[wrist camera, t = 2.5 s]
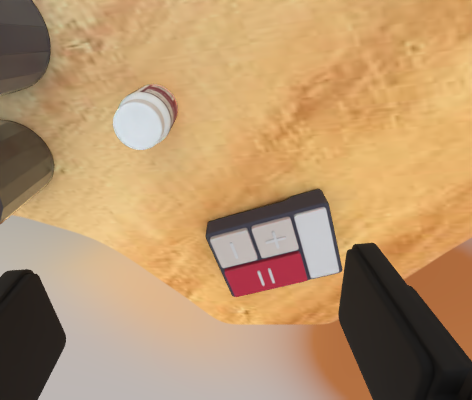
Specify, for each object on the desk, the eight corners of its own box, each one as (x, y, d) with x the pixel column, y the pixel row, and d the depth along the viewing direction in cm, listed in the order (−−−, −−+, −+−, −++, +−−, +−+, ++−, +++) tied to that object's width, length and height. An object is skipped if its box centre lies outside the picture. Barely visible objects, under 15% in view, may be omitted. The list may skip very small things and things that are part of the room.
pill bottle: (143, 133, 34) (121, 160, 27) (126, 89, 32) (97, 105, 24) (184, 123, 34) (174, 147, 26) (170, 78, 31) (154, 90, 24)
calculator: (203, 238, 36) (330, 204, 34) (206, 219, 40) (321, 187, 38) (232, 302, 41) (344, 276, 39) (233, 279, 45) (335, 255, 43)
